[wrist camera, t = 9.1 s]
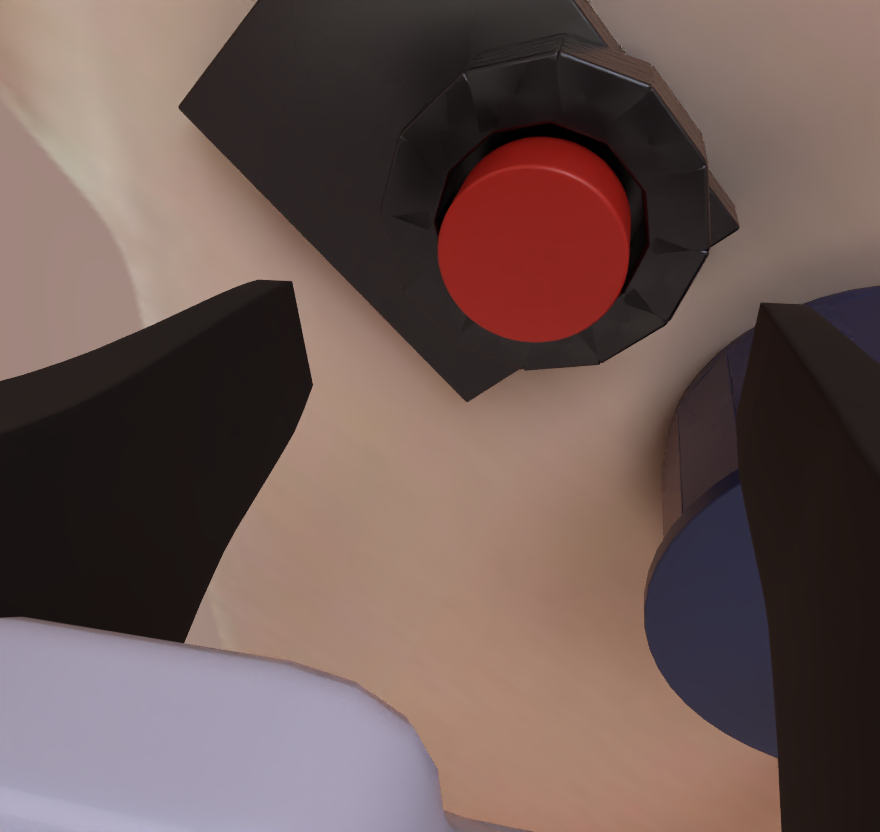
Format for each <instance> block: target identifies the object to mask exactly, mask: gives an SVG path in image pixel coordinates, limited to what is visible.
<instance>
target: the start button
mask: <svg viewBox="0 0 880 832" xmlns="http://www.w3.org/2000/svg"><path fill="white" fill-rule="evenodd" d="M630 235H631V212H630V206H629V201H628V198H627V195H626V192H625V190H624V188H623V185H622V183H621V181H620V180H619V178H618V177H617V175H616V174H615V172H614V171H613V170H612V169H611V167H610V166H609V165H608V164H607V163H606V162H605V161H604V160H603V159H601V158H600V157H599V156H598V155H597V154H595V153H594V152H592V151H591V150H589V149H587V148H586V147H584V146H582V145H579V144H577V143H575V142H572V141H569V140H565V139H561V138H555V137H540V136H538V137H529V138H523V139H519V140H515V141H512V142H509V143H507V144H504V145H502V146H500V147H499V148H497V149H495V150H493V151H492V152H490V153H489V154H488V155H486V156H485V157H484V158H483V159H482V160H481V161H480V162H479V163H478V164H477V165H476V166H475V167H474V168H473V169H472V171H471V172H470V173H469V175H468V176H467V178H466V179H465V181H464V183H463V185H462V186H461V188H460V190H459V192H458V193H457V195H456V197H455V199H454V200H453V202H452V204H451V205H450V207H449V209H448V211H447V213H446V214H445V217H444V219H443V222H442V225H441V228H440V232H439V237H438V247H437V250H438V263H439V268H440V272H441V275H442V279H443V282H444V284H445V286H446V288H447V290H448V292H449V294H450V296H451V297H452V299H453V300H454V302H455V303H456V304H457V306H458V307H459V308H460V309H461V310H462V311H463V312H464V313H465V314H466V315H467V316H468V317H469V318H470V319H471V320H472V321H474V322H475V323H476V324H478V325H479V326H481V327H483V328H484V329H486V330H488V331H489V332H492V333H494V334H496V335H498V336H501V337H504V338H508V339H511V340H516V341H521V342H549V341H556V340H560V339H563V338H567V337H570V336H572V335H575V334H577V333H579V332H581V331H583V330H584V329H586V328H588V327H590V326H591V325H592V324H594V323H595V322H596V321H598V320H599V319H600V318H601V317H602V316H603V315H604V314H605V313H606V312H607V311H608V310H609V309H610V307H611V306H612V305H613V304H614V302H615V301H616V299H617V297H618V296H619V294H620V292H621V290H622V287H623V285H624V283H625V279H626V275H627V271H628V264H629V252H630Z"/></svg>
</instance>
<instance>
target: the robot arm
mask: <svg viewBox="0 0 880 832" xmlns="http://www.w3.org/2000/svg"><path fill="white" fill-rule="evenodd" d="M312 386H313V383H312V378H311V373H310V368H309V363H308V358H307V353H306V348H305V343H304V338H303V333H302V328H301V323H300V318H299V313H298V308H297V303H296V298H295V293H294V288H293V283H292V281H274V280H256V281H252V282H249V283H246V284H243V285H240V286H237V287H235V288H232V289H230V290H228V291H225V292H223V293H221V294H219V295H216V296H214V297H212V298H210V299H207V300H205V301H203V302H201V303H199V304H197V305H195V306H192V307H190V308H188V309H186V310H184V311H182V312H180V313H177V314H175V315H173V316H171V317H169V318H167V319H165V320H162V321H160V322H158V323H156V324H154V325H152V326H149V327H147V328H145V329H142V330H140V331H138V332H135V333H133V334H131V335H129V336H126V337H124V338H121V339H119V340H117V341H115V342H112V343H110V344H107V345H105V346H103V347H101V348H98V349H96V350H93V351H90V352H88V353H85V354H83V355H80V356H77V357H75V358H72V359H69V360H66V361H64V362H61V363H58V364H55V365H52V366H49V367H46V368H43V369H40V370H37V371H34V372H31V373H27V374H24V375H21V376H18V377H14V378H10V379H6V380H3V381H0V832H532V831H527V830H522V829H517V828H512V827H507V826H502V825H497V824H492V823H487V822H482V821H478V820H473V819H468V818H464V817H461V816H458V815H456V814H453V813H450V812H447V811H445V810H443V806H442V798H441V790H440V783H439V775H438V769H437V767H436V766H435V764H434V762H433V761H432V759H431V757H430V755H429V754H428V752H427V750H426V748H425V747H424V745H423V743H422V741H421V740H420V738H419V736H418V734H417V733H416V731H415V729H414V728H413V726H412V725H411V723H410V722H409V720H408V719H407V717H405V716H404V715H403V714H401V713H400V712H398V711H397V710H395V709H394V708H392V707H391V706H390V705H388V704H387V703H385V702H384V701H382V700H381V699H380V698H378V697H377V696H375V695H374V694H372V693H371V692H369V691H368V690H367V689H365V688H364V687H362V686H361V685H359V684H358V683H356V682H354V681H351V680H348V679H345V678H342V677H339V676H336V675H333V674H329V673H326V672H323V671H320V670H317V669H314V668H311V667H308V666H305V665H302V664H299V663H295V662H292V661H287V660H281V659H275V658H269V657H263V656H257V655H251V654H245V653H239V652H233V651H226V650H220V649H214V648H208V647H202V646H196V645H190V644H184V642H185V640H186V637H187V635H188V632H189V630H190V627H191V625H192V623H193V620H194V618H195V615H196V613H197V611H198V608H199V606H200V603H201V601H202V599H203V597H204V594H205V592H206V590H207V588H208V586H209V583H210V581H211V579H212V577H213V575H214V572H215V570H216V568H217V566H218V563H219V561H220V559H221V557H222V555H223V553H224V551H225V549H226V547H227V545H228V543H229V542H230V540H231V538H232V536H233V534H234V532H235V530H236V529H237V527H238V526H239V524H240V522H241V521H242V519H243V517H244V516H245V514H246V512H247V511H248V509H249V507H250V506H251V504H252V502H253V501H254V499H255V497H256V496H257V494H258V493H259V491H260V489H261V488H262V486H263V484H264V483H265V481H266V479H267V478H268V476H269V474H270V473H271V471H272V469H273V468H274V466H275V464H276V463H277V461H278V459H279V458H280V456H281V454H282V453H283V451H284V449H285V447H286V446H287V444H288V442H289V441H290V439H291V437H292V435H293V433H294V432H295V429H296V427H297V425H298V422H299V420H300V417H301V415H302V413H303V410H304V408H305V405H306V402H307V400H308V397H309V394H310V392H311V389H312ZM736 434H737V455H738V472H739V478H740V483H741V489H742V494H743V499H744V504H745V509H746V514H747V519H748V524H749V528H750V533H751V538H752V543H753V548H754V552H755V557H756V562H757V567H758V572H759V577H760V581H761V586H762V591H763V596H764V602H765V608H766V615H767V621H768V629H769V641H770V653H771V665H772V677H773V689H774V704H775V719H776V734H777V749H778V767H779V787H780V808H781V828H782V832H880V364H879V363H878V362H877V361H875V360H874V359H873V358H872V357H870V356H869V355H868V354H867V353H866V352H864V351H863V350H862V349H861V348H860V347H858V346H857V345H856V344H855V343H854V342H852V341H851V340H850V339H849V338H848V337H846V336H845V335H844V334H843V333H842V332H841V331H839V330H838V329H837V328H836V327H835V326H834V325H832V324H831V323H830V322H829V321H828V320H826V319H825V318H824V317H823V316H821V315H820V314H819V313H818V312H816V311H815V310H814V309H812V308H811V307H809V306H808V305H801V304H779V303H760V308H759V313H758V317H757V322H756V327H755V331H754V336H753V340H752V345H751V350H750V354H749V359H748V364H747V368H746V373H745V378H744V382H743V387H742V392H741V396H740V401H739V406H738V410H737V415H736Z"/></svg>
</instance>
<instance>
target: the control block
mask: <svg viewBox="0 0 880 832" xmlns="http://www.w3.org/2000/svg"><path fill="white" fill-rule="evenodd" d="M178 108H179V109H180V110H181V112H182V113H183V114H184V115H185V116H186V117H187V118H188V119H189V120H190V121H191V122H192V123H193V124H194V125H195V126H196V127H197V128H198V129H199V130H200V131H201V132H202V133H203V134H204V135H205V136H206V137H207V138H208V139H209V140H210V141H211V142H212V143H213V144H214V145H215V146H216V147H217V148H218V149H219V150H220V151H221V152H222V153H223V154H224V155H225V156H226V157H227V158H228V159H229V160H230V161H231V163H232V164H233V165H234V166H235V167H236V168H237V169H238V170H239V171H240V172H241V173H242V174H243V175H244V176H245V177H246V178H247V179H248V180H249V181H250V182H251V183H252V184H253V185H254V186H255V187H256V188H257V189H258V190H259V191H260V192H261V193H262V194H263V195H264V196H265V197H266V198H267V199H268V200H269V201H270V202H271V203H272V204H273V205H274V206H275V207H276V208H277V209H278V210H279V211H280V212H281V214H282V215H283V216H284V217H285V218H286V219H287V220H288V221H289V222H290V223H291V224H292V225H293V226H294V227H295V228H296V229H297V230H298V231H299V232H300V233H301V234H302V235H303V236H304V237H305V238H306V239H307V240H308V241H309V242H310V243H311V244H312V245H313V246H314V247H315V248H316V249H317V250H318V251H319V252H320V253H321V254H322V255H323V256H324V257H325V258H326V259H327V260H328V261H329V262H330V263H331V265H332V266H333V267H334V268H335V269H336V270H337V271H338V272H339V273H340V274H341V275H342V276H343V277H344V278H345V279H346V280H347V281H348V282H349V283H350V284H351V285H352V286H353V287H354V288H355V289H356V290H357V291H358V292H359V293H360V294H361V295H362V296H363V297H364V298H365V299H366V300H367V301H368V302H369V303H370V304H371V305H372V306H373V307H374V308H375V309H376V310H377V311H378V312H379V313H380V314H381V315H382V317H383V318H384V319H385V320H386V321H387V322H388V323H389V324H390V325H391V326H392V327H393V328H394V329H395V330H396V331H397V332H398V333H399V334H400V335H401V336H402V337H403V338H404V339H405V340H406V341H407V342H408V343H409V344H410V345H411V346H412V347H413V348H414V349H415V350H416V351H417V352H418V353H419V354H420V355H421V356H422V357H423V358H424V359H425V360H426V361H427V362H428V363H429V364H430V365H431V366H432V368H433V369H434V370H435V371H436V372H437V373H438V374H439V375H440V376H441V377H442V378H443V379H444V380H445V381H446V382H447V383H448V384H449V385H450V386H451V387H452V388H453V389H454V390H455V391H456V392H457V393H458V394H459V395H460V396H461V397H462V398H463V399H464V400H465V401H466V402H469V401H470V400H472V399H473V398H475V397H476V396H478V395H480V394H481V393H483V392H484V391H486V390H487V389H489V388H491V387H492V386H494V385H495V384H497V383H498V382H500V381H502V380H503V379H505V378H506V377H508V376H509V375H511V374H512V373H514V372H516V371H517V370H519V369H524V370H538V369H551V368H564V367H576V366H589V365H599V364H600V363H603V362H605V361H606V360H608V359H610V358H611V357H613V356H615V355H616V354H618V353H620V352H622V351H623V350H625V349H627V348H628V347H630V346H632V345H633V344H635V343H637V342H638V341H640V340H642V339H643V338H645V337H647V336H648V335H650V334H652V333H653V332H655V331H657V330H658V329H660V328H662V327H663V326H665V325H666V324H667V323H668V322H669V321H670V320H671V319H672V317H673V315H674V313H675V312H676V310H677V308H678V307H679V305H680V303H681V301H682V300H683V298H684V296H685V295H686V293H687V291H688V289H689V288H690V286H691V284H692V283H693V281H694V279H695V277H696V276H697V274H698V272H699V271H700V269H701V267H702V265H703V264H704V262H705V260H706V258H707V257H708V255H709V249H710V247H712V246H713V245H715V244H716V243H718V242H720V241H721V240H723V239H724V238H726V237H727V236H729V235H731V234H732V233H734V232H735V231H737V230H738V229H739V223H738V219H737V214H736V210H735V206H734V204H733V203H732V201H731V200H730V199H729V197H728V196H727V194H726V193H725V192H724V190H723V189H722V187H721V186H720V185H719V183H718V182H717V181H716V179H715V178H714V176H713V175H712V174H711V172H710V171H709V169H708V162H707V157H706V151H705V145H704V141H703V137H702V134H701V132H700V131H699V129H698V128H697V127H696V125H695V124H694V122H693V121H692V120H691V118H690V117H689V115H688V114H687V113H686V111H685V110H684V108H683V107H682V105H681V104H680V103H679V101H678V100H677V98H676V97H675V96H674V94H673V93H672V91H671V90H670V89H669V87H668V86H667V84H666V83H665V82H664V80H663V79H662V77H661V76H660V75H659V73H658V72H657V70H656V69H655V68H654V67H653V66H652V67H651V65H650V64H649V63H646V62H644V61H641V60H638V59H636V58H633V57H630V56H628V55H625V53H624V52H623V50H622V49H621V48H620V46H619V45H618V44H617V42H616V41H615V39H614V38H613V37H612V35H611V34H610V32H609V31H608V30H607V28H606V27H605V26H604V24H603V23H602V21H601V20H600V19H599V17H598V16H597V14H596V13H595V12H594V10H593V9H592V8H591V6H590V5H589V3H588V2H587V1H586V0H258V1H257V2H256V3H255V5H254V6H253V7H252V9H251V10H250V11H249V13H248V14H247V15H246V17H245V18H244V19H243V21H242V22H241V23H240V25H239V26H238V27H237V29H236V30H235V31H234V33H233V34H232V35H231V37H230V38H229V39H228V41H227V42H226V43H225V45H224V46H223V47H222V49H221V50H220V51H219V53H218V54H217V55H216V57H215V58H214V59H213V61H212V62H211V63H210V65H209V66H208V67H207V69H206V70H205V71H204V73H203V74H202V75H201V77H200V78H199V79H198V81H197V82H196V83H195V85H194V86H193V87H192V89H191V90H190V91H189V93H188V94H187V95H186V97H185V98H184V99H183V101H182V102H181V103H180V105H179V107H178ZM538 136H540V137H555V138H561V139H565V140H569V141H572V142H575V143H577V144H579V145H582V146H584V147H586V148H587V149H589V150H591V151H592V152H594V153H595V154H597V155H598V156H599V157H600V158H601V159H603V160H604V161H605V162H606V163H607V164H608V165H609V166H610V167H611V169H612V170H613V171H614V172H615V174H616V175H617V177H618V178H619V180H620V181H621V183H622V185H623V188H624V190H625V192H626V195H627V198H628V201H629V206H630V212H631V235H630V252H629V264H628V271H627V275H626V279H625V283H624V285H623V287H622V290H621V292H620V294H619V296H618V297H617V299H616V301H615V302H614V304H613V305H612V306H611V307H610V309H609V310H608V311H607V312H606V313H605V314H604V315H603V316H602V317H601V318H600V319H599V320H598V321H596V322H595V323H594V324H592V325H591V326H590V327H588V328H586V329H584V330H583V331H581V332H579V333H577V334H575V335H572V336H570V337H567V338H563V339H560V340H556V341H549V342H521V341H516V340H511V339H508V338H504V337H501V336H498V335H496V334H494V333H492V332H489V331H488V330H486V329H484V328H483V327H481V326H479V325H478V324H476V323H475V322H474V321H472V320H471V319H470V318H469V317H468V316H467V315H466V314H465V313H464V312H463V311H462V310H461V309H460V308H459V307H458V306H457V304H456V303H455V302H454V300H453V299H452V297H451V296H450V294H449V292H448V290H447V288H446V286H445V284H444V282H443V279H442V275H441V272H440V268H439V263H438V250H437V247H438V237H439V232H440V228H441V225H442V222H443V219H444V217H445V214H446V213H447V211H448V209H449V207H450V205H451V204H452V202H453V200H454V199H455V197H456V195H457V193H458V192H459V190H460V188H461V186H462V185H463V183H464V181H465V179H466V178H467V176H468V175H469V173H470V172H471V171H472V169H473V168H474V167H475V166H476V165H477V164H478V163H479V162H480V161H481V160H482V159H483V158H484V157H485V156H486V155H488V154H489V153H490V152H492V151H493V150H495V149H497V148H499V147H500V146H502V145H504V144H507V143H509V142H512V141H515V140H519V139H523V138H529V137H538Z"/></svg>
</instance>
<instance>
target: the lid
mask: <svg viewBox="0 0 880 832" xmlns="http://www.w3.org/2000/svg"><path fill="white" fill-rule="evenodd" d="M644 628H645V632H646V637H647V641H648V645H649V649H650V651H651V653H652V656H653V658H654V660H655V663H656V665H657V667H658V669H659V670H660V672H661V673H662V675H663V676H664V678H665V680H666V681H667V683H668V684H669V686H670V687H671V688H672V689H673V690H674V691H675V693H676V694H677V695H678V696H679V697H680V698H681V699H682V700H683V701H684V702H685V704H687V705H688V706H689V707H690V708H691V709H692V710H694V711H695V712H696V713H697V714H698V715H700V716H701V717H702V718H703V719H704V720H706V721H707V722H709V723H710V724H712V725H713V726H715V727H716V728H718V729H719V730H721V731H722V732H724V733H725V734H727V735H729V736H731V737H733V738H735V739H736V740H738V741H740V742H742V743H744V744H746V745H748V746H750V747H752V748H754V749H757V750H759V751H761V752H764V753H766V754H768V755H771V756H773V757H776V758H778V749H777V734H776V719H775V704H774V689H773V677H772V665H771V653H770V641H769V629H768V621H767V615H766V608H765V602H764V596H763V591H762V586H761V581H760V577H759V572H758V567H757V562H756V557H755V552H754V548H753V543H752V538H751V533H750V528H749V524H748V519H747V514H746V509H745V504H744V499H743V494H742V489H741V483H740V478H739V472H738V469H736V470H734V471H733V472H731V473H730V474H728V475H727V476H725V477H724V478H722V479H721V480H719V481H718V482H716V483H715V484H714V485H713V486H712V487H710V488H709V489H708V490H707V491H706V492H705V493H703V494H702V495H701V496H700V497H699V498H698V499H696V500H695V501H694V502H693V503H692V504H691V505H690V506H689V507H688V508H687V509H686V510H685V512H684V513H683V514H682V515H681V516H680V517H679V518H678V520H677V521H676V522H675V523H674V524H673V525H672V527H671V528H670V530H669V531H668V533H667V535H666V536H665V538H664V539H663V541H662V543H661V544H660V546H659V547H658V549H657V551H656V554H655V556H654V559H653V561H652V564H651V566H650V569H649V571H648V576H647V581H646V587H645V592H644Z"/></svg>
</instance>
